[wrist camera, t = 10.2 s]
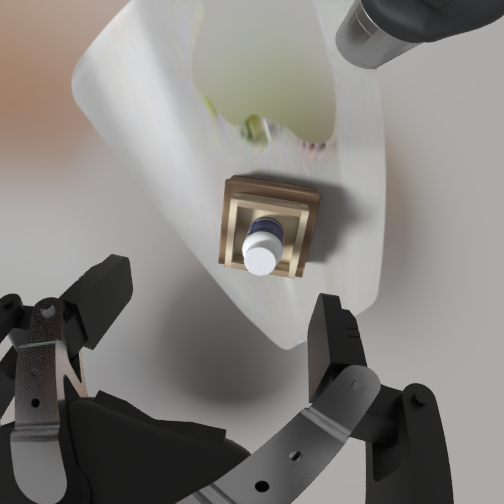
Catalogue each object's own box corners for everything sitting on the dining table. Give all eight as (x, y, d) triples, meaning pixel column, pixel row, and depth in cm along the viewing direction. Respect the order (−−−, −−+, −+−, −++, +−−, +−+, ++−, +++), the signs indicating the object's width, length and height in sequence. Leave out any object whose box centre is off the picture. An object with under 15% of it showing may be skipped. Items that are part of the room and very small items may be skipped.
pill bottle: (247, 215, 41) (235, 242, 33) (283, 214, 40) (281, 240, 32) (250, 247, 44) (240, 280, 35) (284, 247, 43) (283, 280, 34)
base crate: (232, 174, 44) (225, 180, 40) (317, 188, 44) (320, 195, 39) (224, 250, 51) (218, 263, 47) (300, 263, 50) (301, 277, 46)
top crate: (235, 192, 41) (230, 198, 38) (307, 204, 40) (309, 211, 37) (228, 256, 46) (224, 266, 43) (294, 267, 45) (294, 278, 42)
